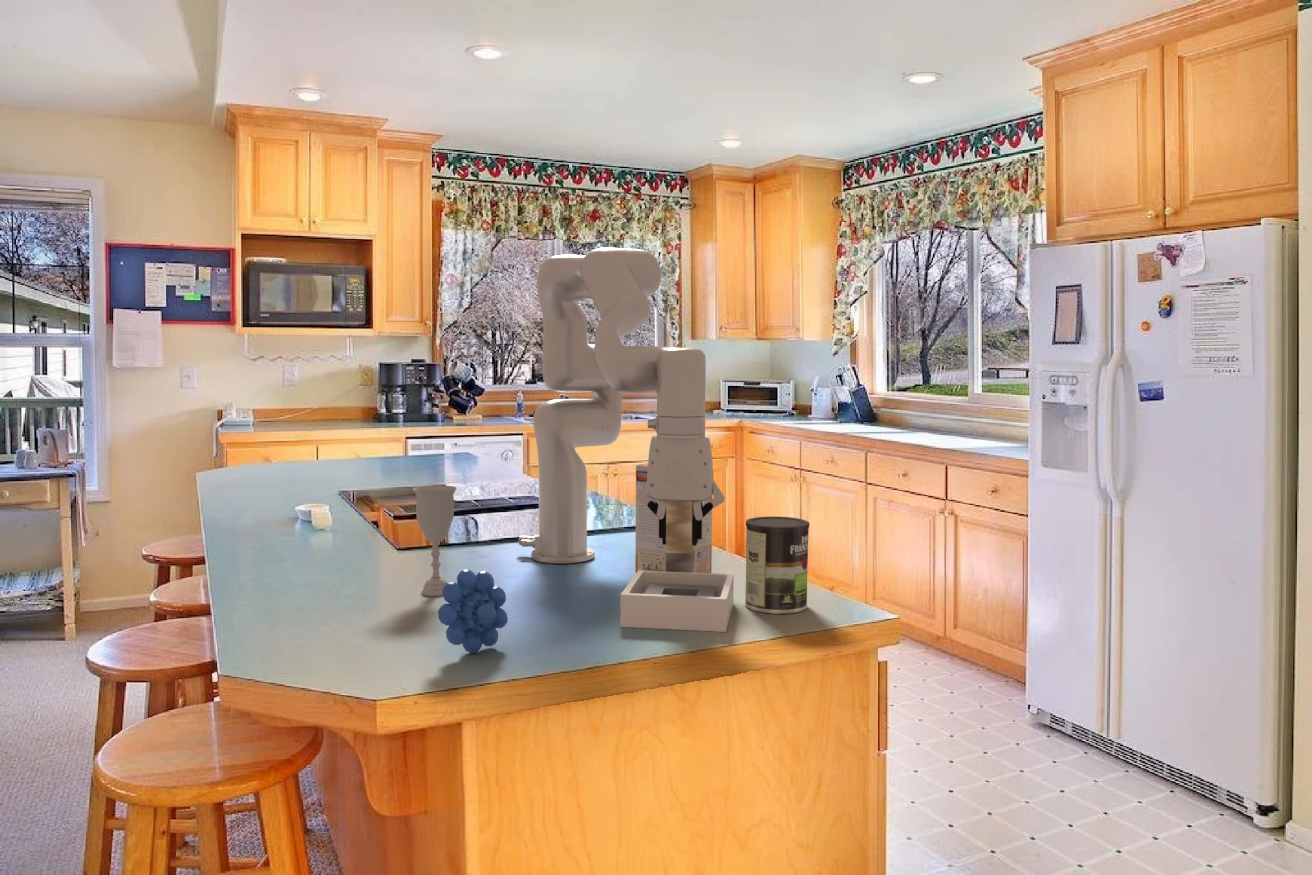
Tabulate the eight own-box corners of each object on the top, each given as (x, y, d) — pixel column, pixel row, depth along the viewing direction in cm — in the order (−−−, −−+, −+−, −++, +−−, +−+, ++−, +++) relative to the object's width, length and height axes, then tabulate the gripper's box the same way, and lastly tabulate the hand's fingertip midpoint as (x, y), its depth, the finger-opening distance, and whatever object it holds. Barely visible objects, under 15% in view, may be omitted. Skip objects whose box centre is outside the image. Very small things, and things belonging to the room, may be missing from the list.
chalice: (419, 599, 164) (418, 492, 162) (410, 589, 170) (408, 487, 168) (462, 594, 167) (461, 489, 165) (451, 585, 173) (450, 484, 171)
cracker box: (713, 583, 176) (714, 467, 174) (691, 589, 172) (692, 470, 170) (656, 570, 186) (656, 460, 184) (634, 575, 181) (634, 463, 179)
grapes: (460, 669, 129) (459, 580, 128) (428, 658, 133) (427, 572, 132) (526, 649, 138) (526, 565, 137) (495, 639, 142) (494, 558, 141)
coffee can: (817, 603, 163) (819, 519, 161) (791, 618, 154) (793, 529, 153) (761, 594, 168) (762, 513, 167) (733, 608, 160) (734, 522, 158)
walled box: (620, 626, 149) (620, 594, 148) (637, 599, 164) (638, 570, 164) (726, 631, 146) (726, 599, 146) (733, 603, 162) (733, 574, 162)
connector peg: (665, 571, 153) (666, 495, 152) (669, 566, 157) (669, 491, 156) (691, 572, 152) (691, 496, 151) (694, 566, 156) (694, 492, 155)
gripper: (623, 428, 150) (623, 546, 152) (733, 430, 148) (731, 550, 149) (632, 424, 157) (632, 537, 159) (736, 426, 155) (735, 540, 157)
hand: (680, 542), depth 154 cm, fingers closed on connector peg, 4 cm apart
